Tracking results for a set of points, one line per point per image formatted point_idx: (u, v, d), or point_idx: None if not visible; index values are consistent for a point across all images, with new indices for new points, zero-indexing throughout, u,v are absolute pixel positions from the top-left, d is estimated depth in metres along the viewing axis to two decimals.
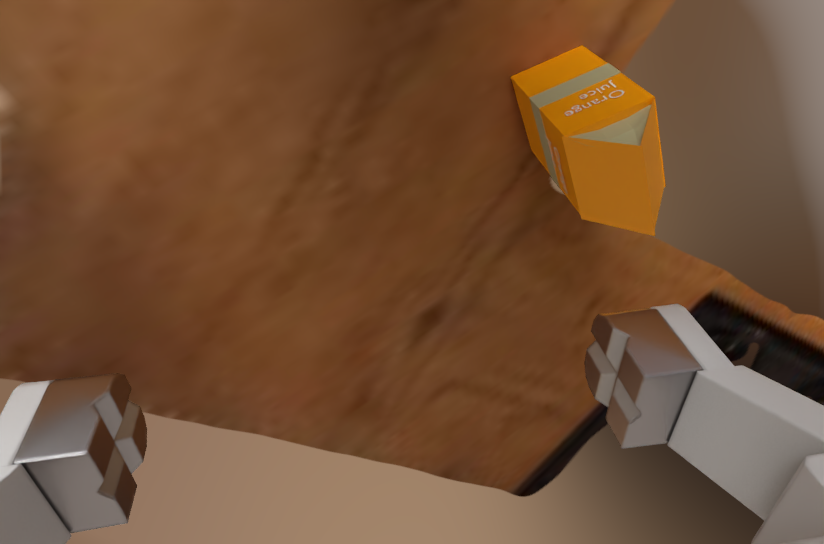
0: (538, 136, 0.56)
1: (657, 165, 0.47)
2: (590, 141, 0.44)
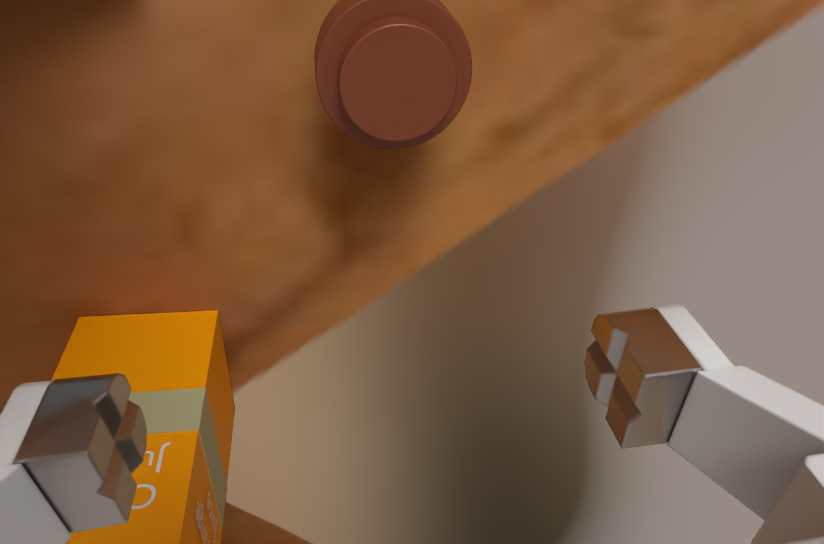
0: None
1: None
2: None
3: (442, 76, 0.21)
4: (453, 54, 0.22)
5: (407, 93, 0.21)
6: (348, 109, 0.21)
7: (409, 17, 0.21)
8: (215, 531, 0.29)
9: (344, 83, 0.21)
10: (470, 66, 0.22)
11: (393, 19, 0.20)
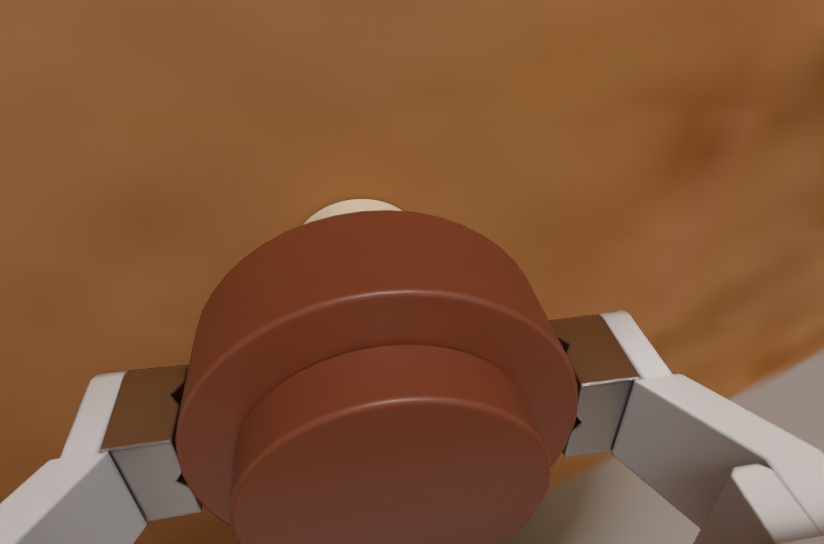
0: None
1: None
2: None
3: (511, 482, 0.08)
4: (535, 396, 0.09)
5: (418, 517, 0.08)
6: None
7: (424, 340, 0.07)
8: None
9: (244, 521, 0.07)
10: (575, 412, 0.09)
11: (379, 367, 0.07)
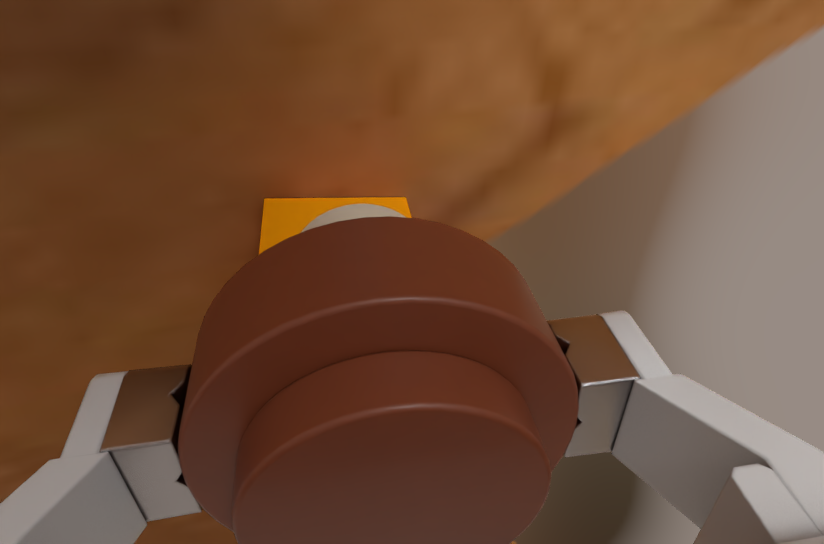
0: None
1: None
2: None
3: (512, 487, 0.08)
4: (536, 401, 0.09)
5: (419, 522, 0.08)
6: None
7: (425, 346, 0.07)
8: None
9: (246, 527, 0.08)
10: (575, 417, 0.09)
11: (381, 374, 0.07)
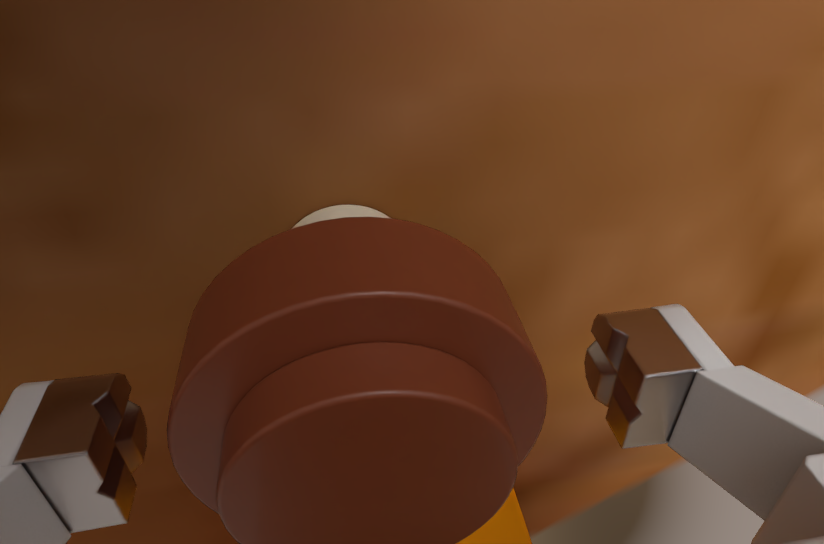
0: None
1: None
2: None
3: (481, 471, 0.08)
4: (505, 392, 0.09)
5: (394, 504, 0.09)
6: (247, 543, 0.09)
7: (399, 339, 0.08)
8: None
9: (230, 507, 0.08)
10: (543, 407, 0.09)
11: (356, 363, 0.08)
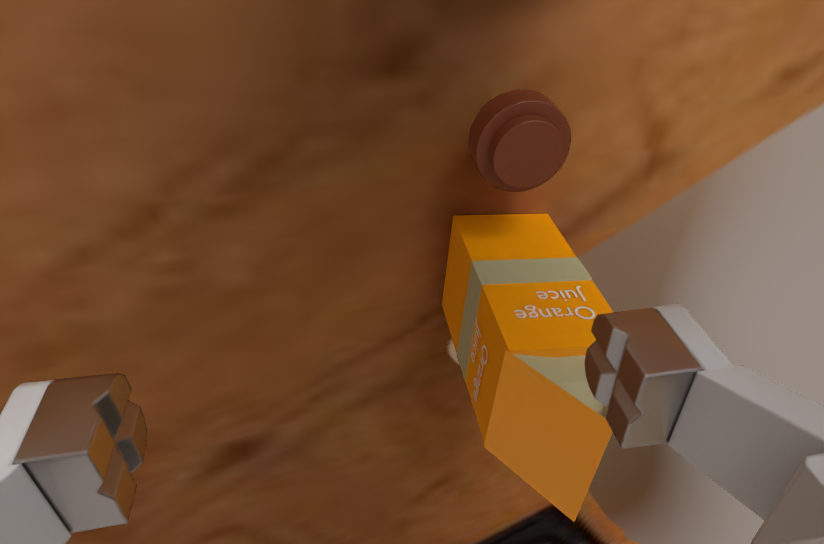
0: (462, 306, 0.42)
1: None
2: (543, 378, 0.31)
3: (555, 150, 0.35)
4: None
5: (533, 159, 0.35)
6: (497, 169, 0.35)
7: (537, 114, 0.34)
8: None
9: (497, 154, 0.34)
10: (569, 141, 0.35)
11: (529, 117, 0.34)
